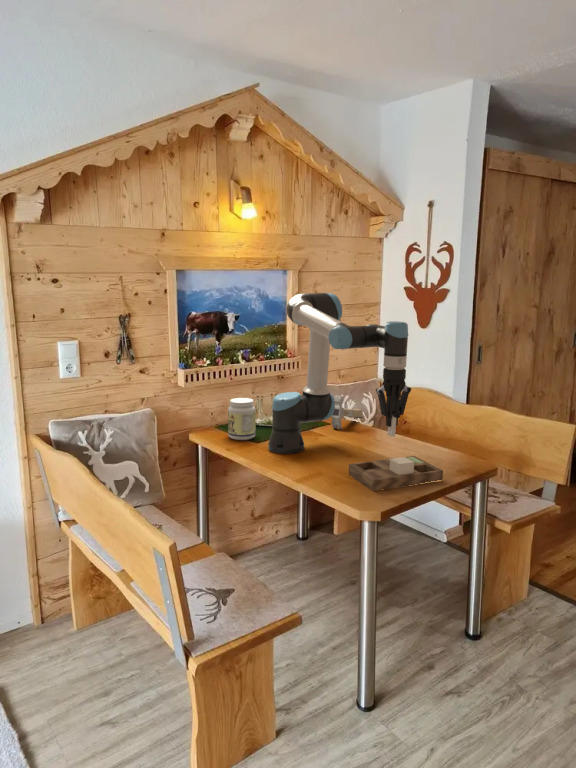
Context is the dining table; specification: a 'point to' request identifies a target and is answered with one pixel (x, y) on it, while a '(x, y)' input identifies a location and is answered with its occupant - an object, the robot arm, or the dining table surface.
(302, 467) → the dining table surface
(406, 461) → the block
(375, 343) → the robot arm
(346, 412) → the hammer
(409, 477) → the board
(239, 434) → the supplement tub
